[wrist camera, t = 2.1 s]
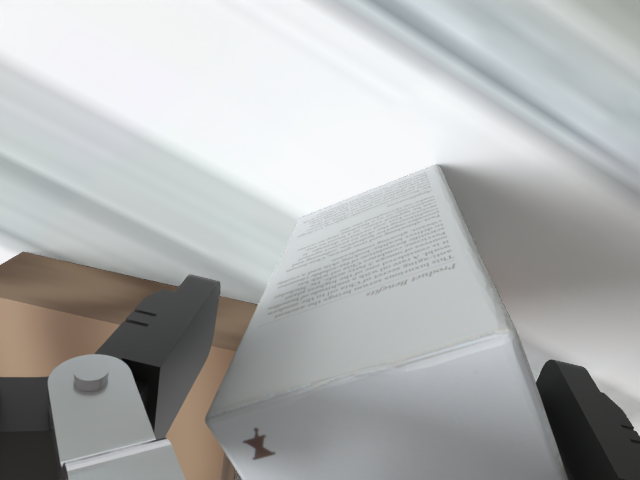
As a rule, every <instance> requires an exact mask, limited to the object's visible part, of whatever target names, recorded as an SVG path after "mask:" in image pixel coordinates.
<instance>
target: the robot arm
mask: <svg viewBox="0 0 640 480" xmlns="http://www.w3.org/2000/svg"><path fill="white" fill-rule="evenodd" d="M219 295H220V282H219V281H216V280H212V279H208V278H203V277H199V276H195V275H188V277H187V278H186V279H185V280H184V281H183V283H182V284H181V285H180V286H179V288H178V289H177V290H176V291H175V292H174V291H170V290H165V289H162V290H160V291H158V292H155V293H153V294H151V295H149V296H147V297H145V298H144V299H143V300H142V301H141V303H140V304H139V305H138V306H137V307H136V308H135V310H134V312H133V311H132V313H131V314H130V315H129V316H128V317H127V318H126V320H125V322H124V321H123V322H122V324H121V325H120V326H119V327H118V328H117V329H116V330H115V331H114V332H113V334H112V335H111V336H110V337H109V338H108V339H107V340H106V341H105V342H104V344H103V345H102V346H101V347H100V348H99V349H98V350H97V351H96V352H95V353H94V354H90V355H83V356H78V357H75V358H71V359H69V360H67V361H65V362H63V363H61V364H60V365H58V366H57V367H56V368H55V369H54V370H53V371H52V372H51V374H50V376H47V377H0V480H185V477H184V474H183V472H182V469H181V467H180V464H179V462H178V459H177V457H176V454H175V452H174V449H173V447H172V444H171V443H170V441H169V440H168V439H167V438H165V436H166V434H167V432H168V431H169V429H170V427H171V425H172V423H173V421H174V419H175V418H176V416H177V414H178V412H179V410H180V408H181V406H182V405H183V403H184V401H185V399H186V397H187V395H188V393H189V392H190V390H191V388H192V386H193V384H194V382H195V380H196V379H197V377H198V375H199V373H200V371H201V369H202V367H203V366H204V364H205V362H206V360H207V358H208V355H209V352H210V349H211V346H212V342H213V337H214V330H215V323H216V316H217V309H218V302H219ZM536 386H537V389H538V391H539V394H540V397H541V400H542V403H543V406H544V409H545V412H546V415H547V418H548V421H549V424H550V427H551V430H552V433H553V436H554V438H555V441H556V444H557V447H558V450H559V453H560V456H561V459H562V462H563V466H564V469H565V472H566V475H567V478H568V480H640V436H639V435H638V433H637V432H636V431H634V430H633V429H634V427H633V426H632V424H631V423H630V421H629V419H628V418H627V416H626V415H625V413H624V412H623V410H622V409H621V408H620V407H618V406H617V405H616V404H615V403H614V402H613V401H612V400H611V399H610V398H609V397H608V396H606V395H605V394H604V393H601V392H600V391H599V389H598V387H597V386H596V384H595V383H594V381H593V379H592V378H591V376H590V375H589V373H588V371H587V370H586V369H585V368H584V367H582V366H577V365H573V364H569V363H564V362H560V361H556V360H549V361H547V362H546V363H545V365H544V366H543V368H542V370H541V373H540V375H539V377H538V379H537V382H536Z"/></svg>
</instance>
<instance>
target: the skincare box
mask: <svg viewBox="0 0 640 480" xmlns="http://www.w3.org/2000/svg"><path fill="white" fill-rule="evenodd" d="M205 422H206V425H207V426H208V427H209V429H210V430H211V432H212V433H213V435H214V436H215V438H216V440H217V441H218V443H219V444H220V446H221V447H222V449H223V450H224V452H225V453H226V455H227V457H228V458H229V460H230V461H231V463H232V465H233V466H234V468H235V469H236V471H237V472H238V474H239V476H240V477H241V479H242V480H568V478H567V475H566V472H565V469H564V466H563V462H562V459H561V456H560V453H559V450H558V447H557V444H556V441H555V438H554V436H553V433H552V430H551V427H550V424H549V421H548V418H547V415H546V412H545V409H544V406H543V403H542V400H541V397H540V394H539V391H538V389H537V386H536V383H535V380H534V377H533V374H532V371H531V368H530V366H529V363H528V360H527V357H526V355H525V352H524V349H523V347H522V344H521V341H520V339H519V336H518V333H517V331H516V328H515V326H514V324H513V322H512V320H511V318H510V316H509V314H508V312H507V310H506V308H505V306H504V304H503V302H502V300H501V298H500V296H499V294H498V292H497V290H496V287H495V285H494V283H493V281H492V279H491V277H490V275H489V273H488V271H487V269H486V267H485V265H484V262H483V260H482V258H481V256H480V254H479V251H478V249H477V247H476V245H475V242H474V240H473V238H472V236H471V234H470V231H469V229H468V227H467V225H466V223H465V221H464V218H463V216H462V214H461V211H460V209H459V207H458V205H457V202H456V200H455V198H454V196H453V193H452V191H451V189H450V187H449V185H448V182H447V180H446V178H445V176H444V173H443V171H442V169H441V168H440V166H438V165H433V166H430V167H428V168H425V169H423V170H420V171H418V172H415V173H413V174H410V175H407V176H405V177H402V178H400V179H397V180H395V181H392V182H389V183H387V184H384V185H382V186H379V187H377V188H374V189H371V190H369V191H366V192H364V193H362V194H359V195H357V196H354V197H351V198H349V199H346V200H344V201H341V202H339V203H336V204H334V205H331V206H329V207H326V208H324V209H321V210H318V211H316V212H313V213H311V214H308V215H306V216H303V217H301V218H299V219H298V221H297V223H296V225H295V227H294V229H293V231H292V233H291V235H290V237H289V240H288V242H287V244H286V246H285V248H284V250H283V253H282V255H281V257H280V259H279V261H278V263H277V266H276V268H275V270H274V272H273V274H272V276H271V278H270V280H269V282H268V284H267V287H266V289H265V291H264V294H263V296H262V298H261V300H260V302H259V304H258V306H257V308H256V310H255V312H254V315H253V317H252V319H251V321H250V323H249V326H248V328H247V330H246V332H245V334H244V336H243V338H242V340H241V342H240V345H239V347H238V349H237V351H236V353H235V355H234V357H233V359H232V361H231V363H230V365H229V368H228V370H227V372H226V374H225V377H224V379H223V381H222V383H221V385H220V387H219V389H218V391H217V393H216V395H215V397H214V400H213V402H212V404H211V406H210V409H209V411H208V413H207V415H206V418H205Z"/></svg>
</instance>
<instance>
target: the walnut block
mask: <svg viewBox="0 0 640 480" xmlns="http://www.w3.org/2000/svg"><path fill="white" fill-rule="evenodd" d="M178 288H179V287H177V286H173V285H168V284H164V283H159V282H155V281H150V280H146V279H141V278H137V277H133V276H128V275H124V274H119V273H115V272H110V271H106V270H101V269H97V268H92V267H88V266H84V265H79V264H75V263H70V262H66V261H61V260H57V259H52V258H48V257H44V256H39V255H35V254H30V253H26V252H22V253H20V254H18V255H17V256H15V257H13V258H12V259H10V260H8V261H6V262H5V263H3V264H1V265H0V377H47V376H50V374H51V372H52V371H53V370H54V369H55V368H56V367H57V366H58V365H60V364H61V363H63V362H65V361H67V360H69V359H71V358H75V357H78V356H83V355H90V354H94V353H95V352H96V351H97V350H98V349H99V348H100V347H101V346H102V345H103V344H104V342H105V341H106V340H107V339H108V338H109V337H110V336H111V335H112V334H113V332H114V331H115V330H116V329H117V328H118V327H119V326H120V325H121V324H122V322H123V321H124V322H125V320H126V318H127V317H128V316H129V315H130V314H131V313H132V311H133V312H134V310H135V308H136V307H137V306H138V305H139V304H140V303H141V301H142V300H143V299H144V298H145V297H147V296H149V295H151V294H153V293H155V292H158V291H160V290H162V289H165V290H170V291H174V292H175V291H176V290H177V289H178ZM257 306H258V305H257V304H253V303H248V302H244V301H239V300H235V299H230V298H226V297H221V296H219V302H218V309H217V316H216V323H215V330H214V337H213V342H212V346H211V349H210V352H209V355H208V358H207V360H206V362H205V364H204V366H203V367H202V369H201V371H200V373H199V375H198V377H197V379H196V380H195V382H194V384H193V386H192V388H191V390H190V392H189V393H188V395H187V397H186V399H185V401H184V403H183V405H182V406H181V408H180V410H179V412H178V414H177V416H176V418H175V419H174V421H173V423H172V425H171V427H170V429H169V431H168V432H167V434H166V436H165V438H167V439H168V440H169V441H170V443H171V444H172V447H173V449H174V452H175V454H176V457H177V459H178V462H179V464H180V467H181V469H182V472H183V474H184V477H185V480H234V474H235V468H234V466H233V465H232V463H231V461H230V460H229V458H228V457H227V455H226V453H225V452H224V450H223V449H222V447H221V446H220V444H219V443H218V441H217V440H216V438H215V436H214V435H213V433H212V432H211V430H210V429H209V427H208V426H207V425H206V422H205V418H206V415H207V413H208V411H209V409H210V406H211V404H212V402H213V400H214V397H215V395H216V393H217V391H218V389H219V387H220V385H221V383H222V381H223V379H224V377H225V374H226V372H227V370H228V368H229V365H230V363H231V361H232V359H233V357H234V355H235V353H236V351H237V349H238V347H239V345H240V342H241V340H242V338H243V336H244V334H245V332H246V330H247V328H248V326H249V323H250V321H251V319H252V317H253V315H254V312H255V310H256V308H257Z"/></svg>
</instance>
